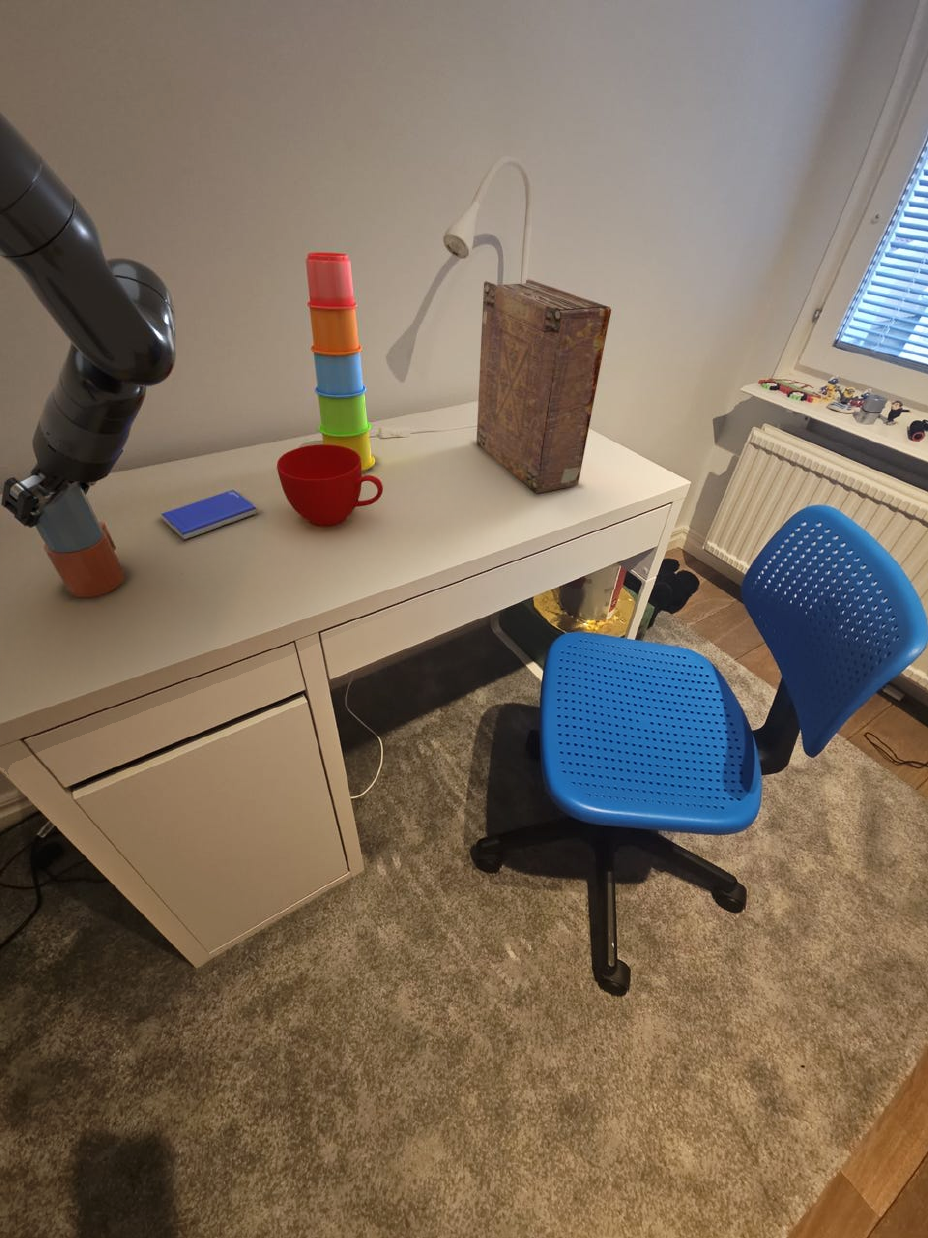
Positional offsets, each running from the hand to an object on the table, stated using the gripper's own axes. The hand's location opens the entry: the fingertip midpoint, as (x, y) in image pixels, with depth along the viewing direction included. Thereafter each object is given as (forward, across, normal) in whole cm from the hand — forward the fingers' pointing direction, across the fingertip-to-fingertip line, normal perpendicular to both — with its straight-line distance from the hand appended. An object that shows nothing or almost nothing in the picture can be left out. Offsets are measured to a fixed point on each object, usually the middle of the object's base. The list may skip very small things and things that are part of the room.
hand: (50, 507), depth 68 cm
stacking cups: (-3, -47, +20) cm, 51 cm away
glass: (+2, 0, +4) cm, 5 cm away
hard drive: (+5, -20, +12) cm, 24 cm away
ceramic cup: (-9, -28, +26) cm, 39 cm away
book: (-26, -61, +42) cm, 79 cm away
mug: (+7, -1, +9) cm, 12 cm away
